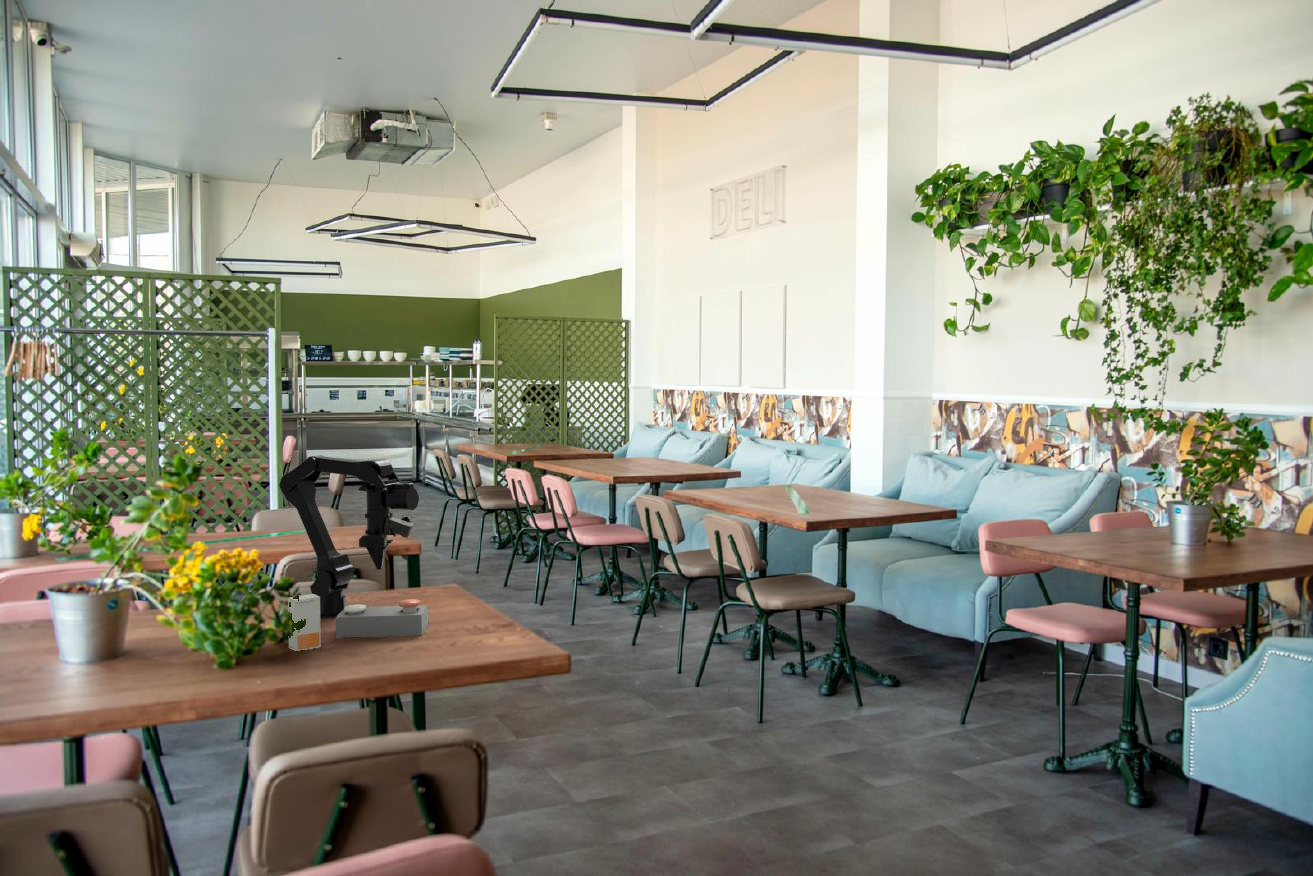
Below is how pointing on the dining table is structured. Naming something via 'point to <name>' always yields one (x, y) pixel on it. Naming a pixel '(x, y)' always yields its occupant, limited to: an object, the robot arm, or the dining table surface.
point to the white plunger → (355, 609)
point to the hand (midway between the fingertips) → (379, 569)
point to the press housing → (382, 622)
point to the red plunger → (409, 605)
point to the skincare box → (311, 612)
